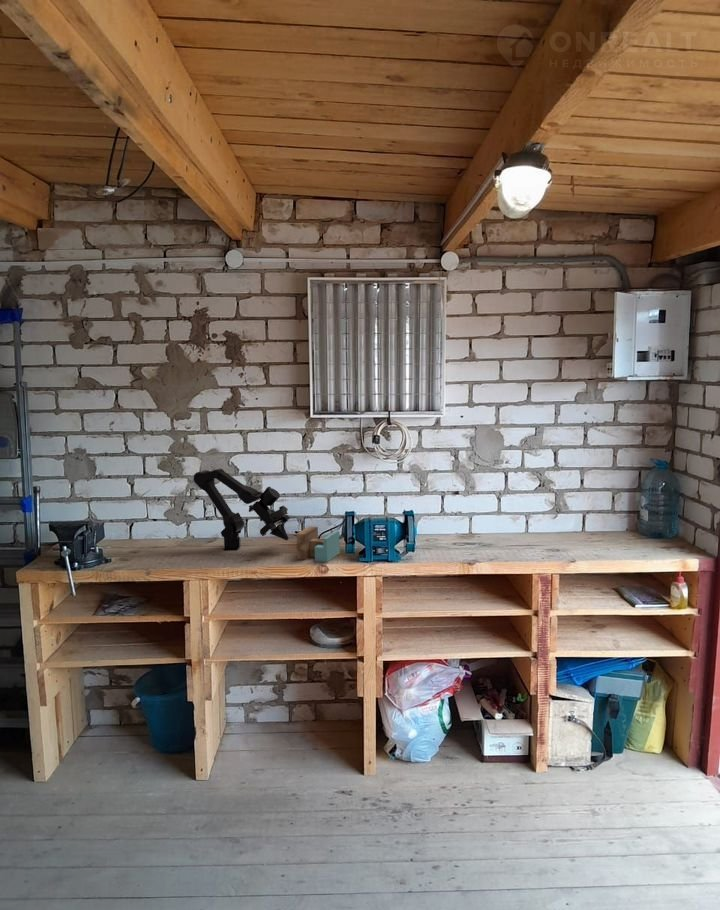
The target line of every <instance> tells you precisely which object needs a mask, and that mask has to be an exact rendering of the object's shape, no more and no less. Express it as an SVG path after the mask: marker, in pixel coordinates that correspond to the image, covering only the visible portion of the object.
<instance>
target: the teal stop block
mask: <svg viewBox="0 0 720 910" xmlns="http://www.w3.org/2000/svg"><path fill="white" fill-rule="evenodd" d="M322 539H323V545H317V546H316V547H315V557H314V562H319V563H320V562H322V563H328V562H329V561H331V560H332V559H334V558H335V557H336V556H337V555H339V554H340V552H341V551H340V530H339V529H337V530H334V531H333V532H331V533H329V534H328V535H326V536H325V537H323V538H322Z"/></svg>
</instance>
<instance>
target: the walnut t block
mask: <svg viewBox="0 0 720 910" xmlns="http://www.w3.org/2000/svg"><path fill="white" fill-rule="evenodd" d="M318 529H319V528H318V526H309V525H308V526H307V527H305V528H304V529H302V530H301V531H299V532H297V533H296V559H297V560H305V561H306V560H308V559H310V558H315V547H316V546H317V545H323V538H319V531H318Z"/></svg>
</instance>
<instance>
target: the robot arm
mask: <svg viewBox="0 0 720 910" xmlns="http://www.w3.org/2000/svg"><path fill="white" fill-rule="evenodd" d="M215 479H216V480H218V481H219V482H221V483H222V484H223V485H225V486H226V487H228V488H229V489H230V490H232V491H233V492H235V493H236V494H237V496H238V498H239V499H240V501H241V502H242V503H244V504H245V505H249V506H248V507H249V508H248V512H249V513H251V512H255V514H256V515H257V516H258V517H259V521H260V522H263V523H264V524H265V525H263V526H262V527H261V528H260V530H259V534H260V535H261V537H264V536H266V535H267V533H268V532H269V531H270V533H269V535H273V536H275V537H277V538H280V539H282V540H284V541H288V540H289V536H288V534H287V533H288V532H287V531H286V528H285V524H286V523H287V522H288V521H289V520H290V519H291V517H290V516H289V513H288V508H287V507H286V506H285V505H281V506H279V507H278V508H279V509H277V510H275V509H273V508H272V509H271V508H270V507H271V506H273V505H274V504H275V503H276V502H277V500H278V499H280V498H281V495H280V492H278V491H277V490H276V489H274V488H273V487H271V486H267V487H266V488H265V490H264V491H263V492H261V491H258V489H256V488H254V487H251V486H248V485H245V484H243V483H241V482H240V481H239V480H238V479H236V478H235V477H233V476H232V475H230V474H229V473H227V472H226V471H225V470H224V469H222V468H217V469H214V470H211V471H210V470H207V469H204V470H200V471H197V472H195V473H194V475H193V482H194V484H196V486H197V487H198V488H200V489H202V490H203V491H204V492H205V493H206V495H207V496H208V498H209V499H210V500H211V502H212V503H213V505H214V507H215V508H216V509H217V511H218V513H219V514H220V516H221V517H222V524H223V527H224V528H223V529H222V530H221V531H220V535H221V537H222V538H223V546H224V548H223V550H224V551H238V550H239V549H240V548H241V544H242V543H241V540H242V539H241V537H240V534H241V533H242V530H243V529H244V527H245V522H244V518H243V517H242V516H241V515H240V513H239V512H236V513H235V512H234V511H232V509H231V508H230V506H229V505H228V503H227V502H226V500H225V498H224V497H223V495H222V493H220V491H219V489H217V486H216V484H215ZM258 500H259V501H258ZM252 503H253V504H252ZM250 504H251V505H250Z"/></svg>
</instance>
